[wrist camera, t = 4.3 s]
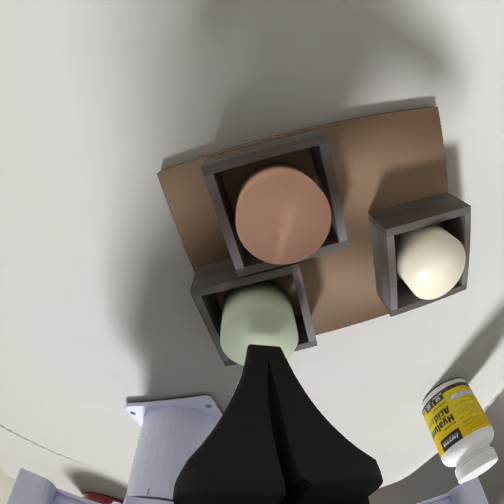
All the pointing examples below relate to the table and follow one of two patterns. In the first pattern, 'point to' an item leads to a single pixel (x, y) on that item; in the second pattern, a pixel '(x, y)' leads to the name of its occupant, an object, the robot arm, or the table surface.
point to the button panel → (342, 218)
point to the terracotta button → (281, 214)
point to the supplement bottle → (459, 429)
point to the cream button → (429, 260)
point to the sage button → (257, 320)
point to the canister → (100, 498)
